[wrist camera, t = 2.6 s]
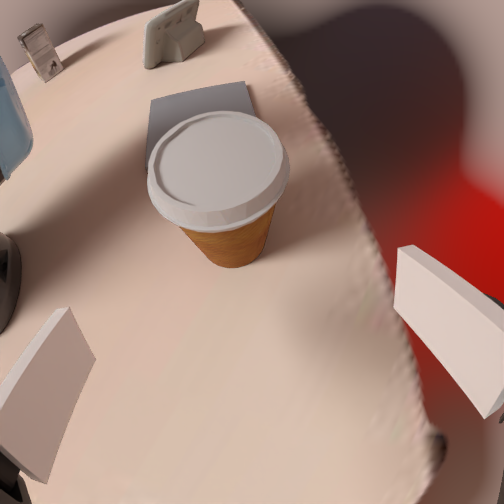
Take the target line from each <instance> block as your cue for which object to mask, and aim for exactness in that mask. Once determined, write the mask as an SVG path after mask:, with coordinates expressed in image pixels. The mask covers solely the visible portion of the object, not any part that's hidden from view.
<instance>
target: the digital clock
mask: <svg viewBox="0 0 504 504" xmlns="http://www.w3.org/2000/svg"><path fill="white" fill-rule="evenodd" d="M198 6H199V0H182V1H180V2H179V3H177V4H175V5H173V6H171V7H170V8H168V9H166V10H165V11H163V12H161V13H160V14H158V15H156V16H155V17H153V18H152V19H150V20H149V21H148V22H146V24H145V27H144V41H143V65H144V67H145V68H146V69H150V68H153V67H155V66H156V65H158V64H159V63H160V62H183V61H184V60H185V59H186V58H187V57H188V56H189V55H190V54H191V53H193V52H194V51H195V50H196V49H197V48H198V47H199V46H201V45H202V44H203V43H204V42H205V39H204V33H203V28H202V25H201V24H200V23H198V22H196V21H195V20H196V15H197V11H198Z"/></svg>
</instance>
